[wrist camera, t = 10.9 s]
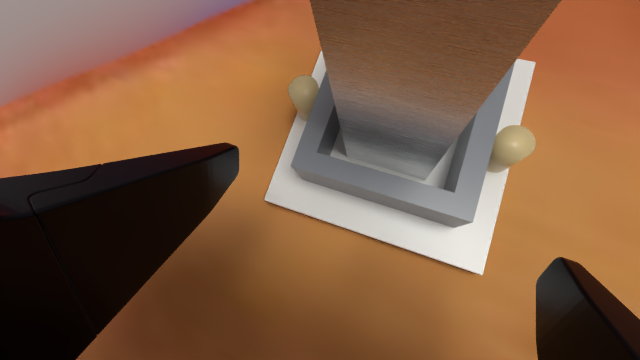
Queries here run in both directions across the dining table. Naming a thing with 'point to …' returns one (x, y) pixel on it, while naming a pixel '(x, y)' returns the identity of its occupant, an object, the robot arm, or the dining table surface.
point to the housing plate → (404, 190)
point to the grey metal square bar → (417, 70)
